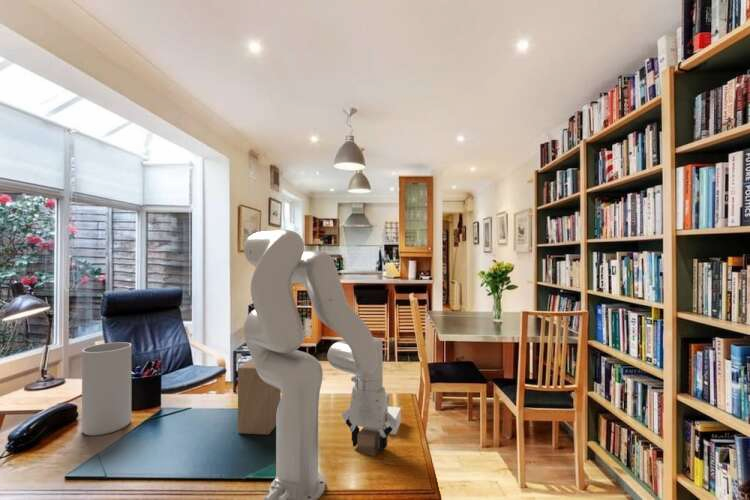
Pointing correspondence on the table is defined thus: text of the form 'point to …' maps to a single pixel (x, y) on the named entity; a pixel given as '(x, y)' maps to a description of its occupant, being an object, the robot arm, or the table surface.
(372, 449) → the walnut cube
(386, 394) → the slate-grey cube
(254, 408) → the wooden block
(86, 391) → the cylinder vase
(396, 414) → the off-white block
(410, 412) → the table surface
